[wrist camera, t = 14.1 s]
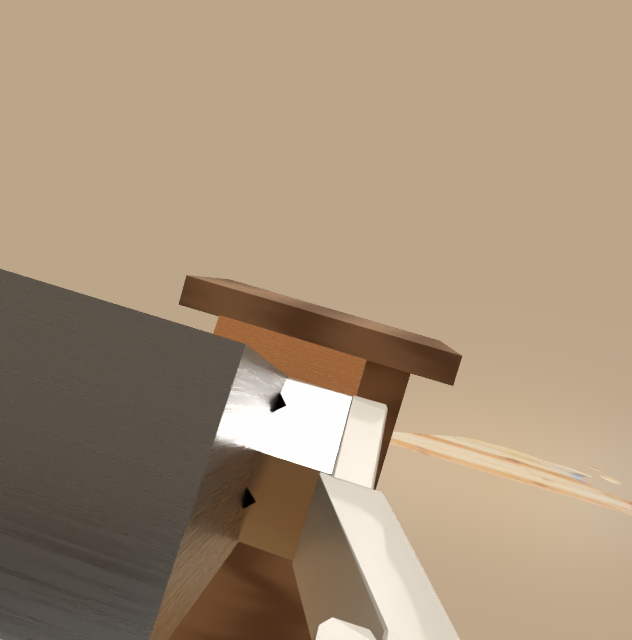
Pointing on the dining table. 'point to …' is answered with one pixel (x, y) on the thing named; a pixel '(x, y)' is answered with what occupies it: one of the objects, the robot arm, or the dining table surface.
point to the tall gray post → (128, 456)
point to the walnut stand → (376, 384)
